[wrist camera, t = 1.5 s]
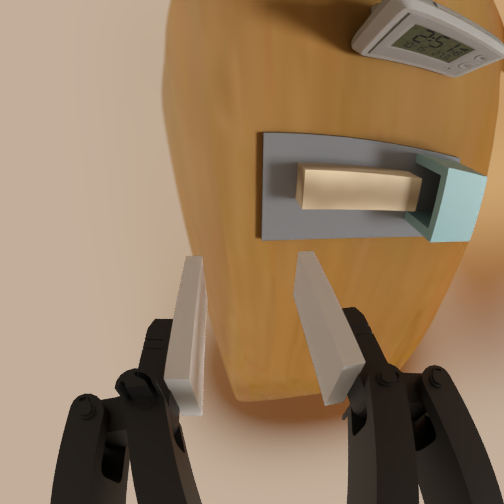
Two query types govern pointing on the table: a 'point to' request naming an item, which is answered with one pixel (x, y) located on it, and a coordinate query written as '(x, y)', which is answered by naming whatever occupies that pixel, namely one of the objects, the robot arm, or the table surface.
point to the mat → (336, 220)
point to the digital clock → (426, 37)
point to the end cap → (450, 202)
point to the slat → (355, 187)
